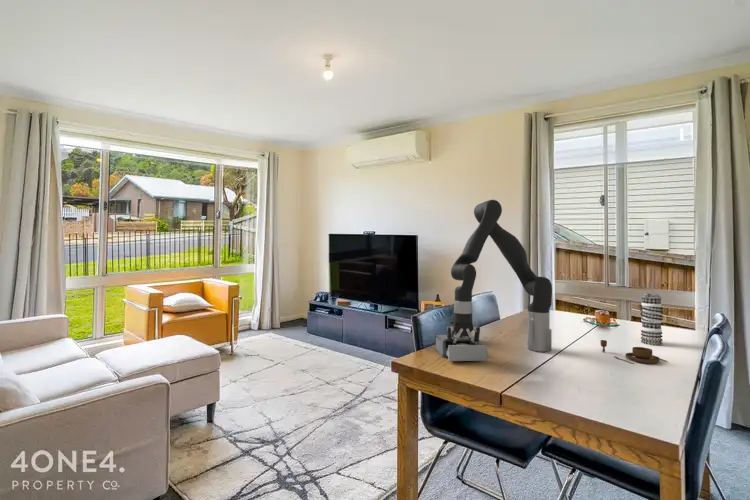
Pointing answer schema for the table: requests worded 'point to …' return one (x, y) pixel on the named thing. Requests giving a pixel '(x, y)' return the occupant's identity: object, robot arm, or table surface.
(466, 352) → the grey drawer
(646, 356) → the place setting
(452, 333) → the grey drawer box
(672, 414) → the table surface
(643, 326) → the decorative candle
